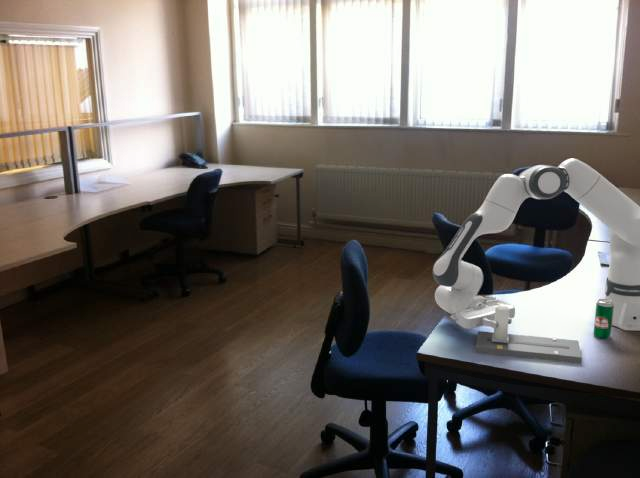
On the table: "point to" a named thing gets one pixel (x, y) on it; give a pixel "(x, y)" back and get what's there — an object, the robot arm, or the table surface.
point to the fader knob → (501, 325)
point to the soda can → (603, 318)
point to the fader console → (531, 347)
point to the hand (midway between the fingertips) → (503, 323)
